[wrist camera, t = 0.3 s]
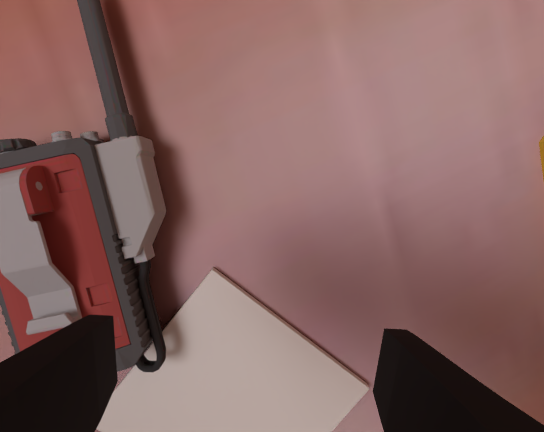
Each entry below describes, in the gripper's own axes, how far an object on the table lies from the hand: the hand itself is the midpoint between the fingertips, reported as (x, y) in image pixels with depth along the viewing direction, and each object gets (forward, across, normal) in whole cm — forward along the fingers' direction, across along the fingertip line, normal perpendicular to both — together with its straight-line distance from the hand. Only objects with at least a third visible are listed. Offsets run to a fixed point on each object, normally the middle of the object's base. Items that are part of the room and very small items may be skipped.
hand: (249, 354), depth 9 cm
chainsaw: (+11, +10, -2) cm, 14 cm away
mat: (+9, +1, +10) cm, 14 cm away
